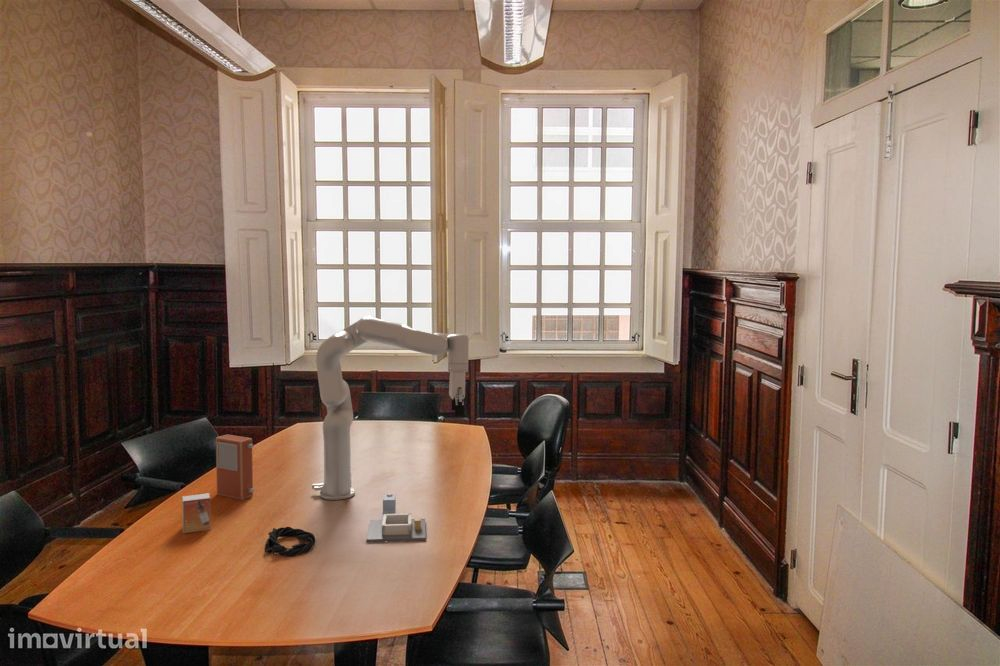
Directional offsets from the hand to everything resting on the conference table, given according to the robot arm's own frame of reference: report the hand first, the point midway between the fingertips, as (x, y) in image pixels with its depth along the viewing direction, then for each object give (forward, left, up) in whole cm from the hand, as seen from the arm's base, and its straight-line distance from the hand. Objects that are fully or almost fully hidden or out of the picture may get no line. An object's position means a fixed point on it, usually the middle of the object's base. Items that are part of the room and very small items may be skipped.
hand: (457, 412), depth 245 cm
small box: (-84, -29, -31) cm, 94 cm away
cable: (-52, -44, -31) cm, 75 cm away
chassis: (-21, -36, -31) cm, 52 cm away
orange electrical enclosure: (-81, +3, -31) cm, 87 cm away
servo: (-24, -23, -31) cm, 45 cm away
